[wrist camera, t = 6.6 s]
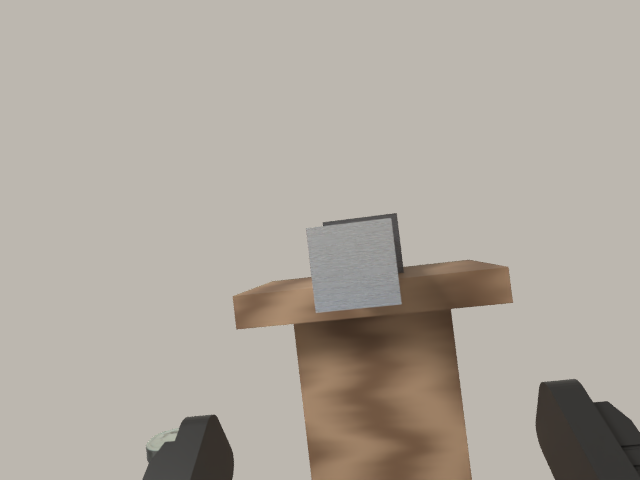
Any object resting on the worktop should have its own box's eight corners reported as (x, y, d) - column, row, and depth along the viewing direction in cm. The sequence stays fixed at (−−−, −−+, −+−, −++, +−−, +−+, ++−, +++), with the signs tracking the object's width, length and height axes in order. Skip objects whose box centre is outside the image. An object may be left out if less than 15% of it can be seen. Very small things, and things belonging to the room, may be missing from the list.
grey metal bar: (287, 315, 15) (275, 203, 15) (337, 274, 35) (331, 225, 35) (431, 301, 15) (416, 185, 15) (398, 267, 34) (392, 218, 34)
